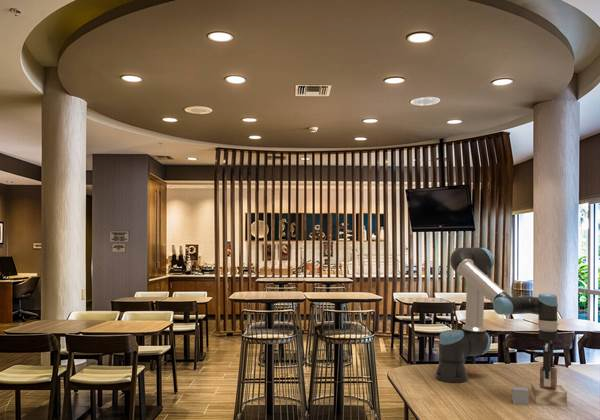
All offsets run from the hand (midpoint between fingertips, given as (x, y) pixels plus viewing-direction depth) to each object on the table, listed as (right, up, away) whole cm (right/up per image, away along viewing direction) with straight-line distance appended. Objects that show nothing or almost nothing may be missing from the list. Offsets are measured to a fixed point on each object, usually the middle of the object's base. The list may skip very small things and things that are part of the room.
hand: (548, 384), depth 243 cm
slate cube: (-13, -7, -3) cm, 15 cm away
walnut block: (0, -1, 0) cm, 1 cm away
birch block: (0, -7, 0) cm, 7 cm away
